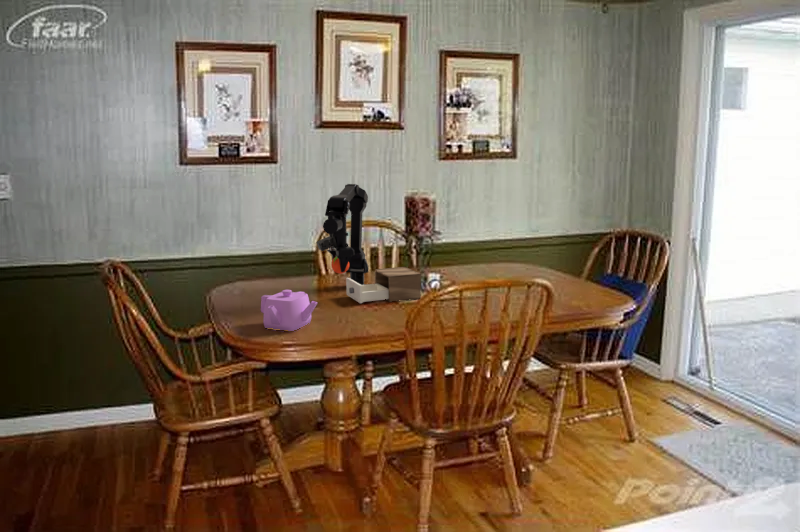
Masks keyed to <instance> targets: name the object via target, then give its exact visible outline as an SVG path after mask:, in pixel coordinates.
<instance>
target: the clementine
mask: <svg viewBox="0 0 800 532" xmlns="http://www.w3.org/2000/svg"><path fill="white" fill-rule="evenodd" d="M330 265H331V269H332V271H333V272H334V273H336V274H341V275H342V274H345V273H347V272H346V271H347V270H348V269H349V262H348V264H347V267H346V269H345V271H344V272H341V269H340V263H339V259H338V258H337V257H335V258H334V259H333V258H332V261H331V264H330Z"/></svg>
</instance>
